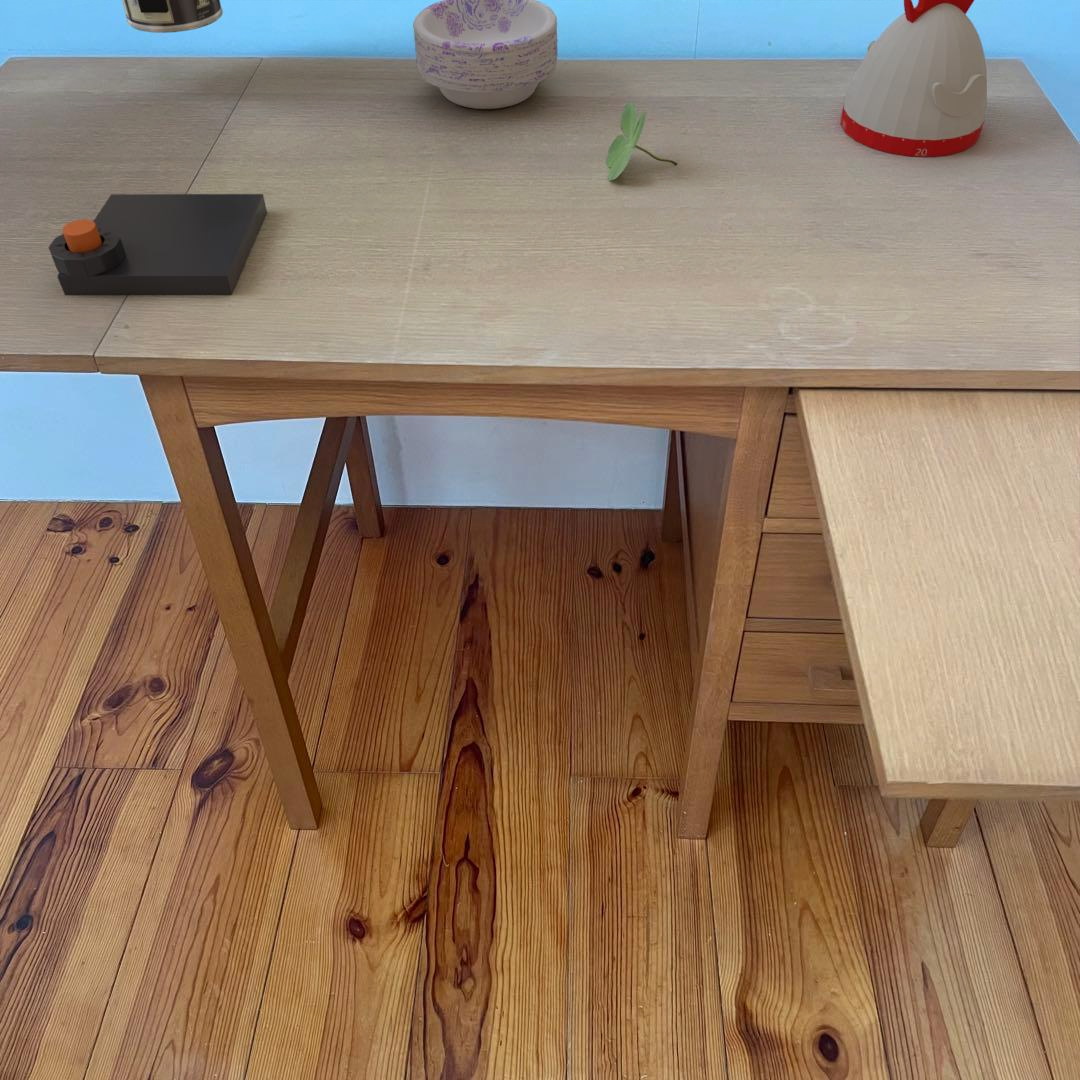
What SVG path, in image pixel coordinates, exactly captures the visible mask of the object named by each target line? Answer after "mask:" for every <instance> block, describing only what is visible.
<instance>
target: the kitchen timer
mask: <svg viewBox="0 0 1080 1080" xmlns="http://www.w3.org/2000/svg"><path fill="white" fill-rule="evenodd" d="M974 2H975V0H918V2H917V5H915V6H914V4H913V0H903V10H904V13H902V14H901V15H900V16H898V17H897V18H896V19H895V20H893V21H892V22H891V23H890V25H888V26H887V27H886V28H885V29H884V31H883V32H882V33H880V35H879V36H878V37H877V39H876V40H873V41H871V42H869V44H868V47H867V52H866V54H865V55H864V56H863V59H862V61H861V63H860V65H859V66H858V69H857V70H856V71H855V74H854V76H853V78H852V80H851V82H850V84H849V87H848V89H847V91H846V94H845V98H844V100H843V107H842V110H841V116H840V126H841V128H842V130H843V131H844V133H845V134H846V135H847V136H849V137H850V138H852V139H853V140H854V141H856V142H858V143H859V144H861V145H863V146H864V145H865V146H866V147H868V148H871V149H874V150H877V151H881V152H885V153H888V154H892V155H900V156H907V157H926V158H929V157H930V158H931V157H932V158H933V157H940V156H942V157H943V156H950V155H953V154H958V153H961V152H964V151H966V150H968V149H969V148H971V147H973V146H974V145H975V144H976V143H977V141H978V139H979V138H980V136H981V133H982V130H983V126H984V123H985V118H986V114H987V107H988V73H987V72H988V71H987V63H986V57H985V51H984V47H983V44H982V43H983V42H982V40H981V38H980V35H979V33H978V31H977V28H976V27H975V25H974V23H973V22H972V20H971V19H970V18H969V16H968V15H967V13H968V11H969V9H970V8H971V7H972V5H973V4H974Z"/></svg>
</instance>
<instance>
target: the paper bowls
mask: <svg viewBox="0 0 1080 1080" xmlns="http://www.w3.org/2000/svg"><path fill="white" fill-rule="evenodd" d="M412 28H413V36H414V37H413V39H414V50H415V55H416V64H417V65H416V67H417V71H418V74H419V75H420V77H421V78H422V79H423V80H424V81H425V82H426V83H428V84H431V85H433V86H435V87H438V88H439V90H440V92H441V94H442V95H443V96H444V97H445V98H446V99H447V101H450V102H451V103H453V104H455V105H457V106H460V107H464V108H469V109H474V110H475V109H476V110H497V109H503V108H508V107H511V106H515V105H517V104H519V103H522V102H523V101H526V100H528V98H530V97H531V96H532V95H533V93H534V92H535V91H536V89H537V86H538V85H539V83H540V82H541V81H544V79H546V78H549V77H550V76H551V74H552V73H553V72H554V71H555V70H556V68H557V65H558V55H559V54H558V42H559V40H558V19H557V16H556V14H555V12H554V10H552V8H551V7H549V6H548V5H546V4H545V3H543V2H541V1H538V0H439V1H437V2H434V3H432V4H430V5H427V6H426V7H425V8H423V9H421V10H420V12H419V13H418V14H416V16H415V18H414V21H413V25H412Z"/></svg>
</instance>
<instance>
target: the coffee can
mask: <svg viewBox="0 0 1080 1080" xmlns="http://www.w3.org/2000/svg"><path fill="white" fill-rule="evenodd" d="M166 1H167V5H168V9H169V11H168V12H167V13H141V11H140V7H139V3H138V0H121V2H122V5H123V8H124V13H125V17H126V23H127V25H128V26H130V27H131V28H133V29H135V30H137V31H142V32H148V33H155V34H157V33H160V34H166V33H179V32H188V31H193V30H197V29H200V28H204V27H206V26H209V25H211V24H212V25H213V23H215V22H217V21H218V20H219V19H220V18H222V15H223V14H224V13H223V12H224V11H223V10H224V9H223V8H222V5H221V4H222V3H221V0H166Z"/></svg>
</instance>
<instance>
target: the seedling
mask: <svg viewBox="0 0 1080 1080" xmlns="http://www.w3.org/2000/svg"><path fill="white" fill-rule="evenodd" d="M646 116H647V109H643V111H642V113H641V114H640V117H639V116H638V112H637V109H636V103H635V101H628V102H627V103H626V104H625V106H624V108H623V110H622V113H621V116H620V129H621V132H622V133H623V134H618V135H616V137H615V138H614V139H613V141H612V142H611V144H610V146H609V148H608V151H607V155H606V160H605V161H606V162H605V164H606V167H607V168H609V170H608V173H607V176H606V177H607V178H608V181H614V180H615V179H617V178H618V177H619V176H620V175H621V174H622V172H623V171H624V170H625V168H626V167H627V165H628V163H629V161H630V158H631V156H632V153H633V150H634V149H635V148H636V149H638V150H639V151H641V152H644V153H645V154H647V155H649V157H651V158H652V159H655V160H656V161H659V162H665V163H666V162H667V163H671V164H673V165H674V166H677V165H678V162H676V161H674V160H671V159H667V158H661V157H657V156H656V155H654V154H653V153H652V152H650V151H648V150H647V149H645V148H643V147H641V146H639V145H638V142H639V139H640V136H641V134H642V131H643V128H644V126H645V122H646Z"/></svg>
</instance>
